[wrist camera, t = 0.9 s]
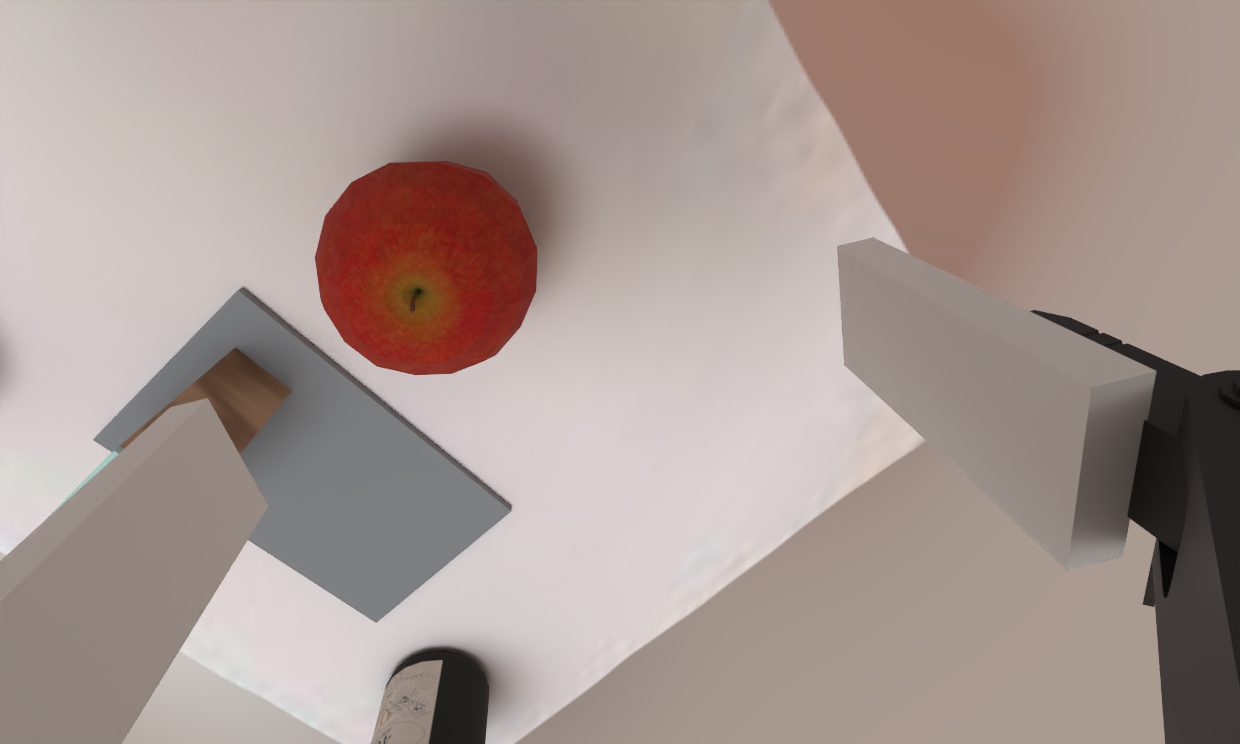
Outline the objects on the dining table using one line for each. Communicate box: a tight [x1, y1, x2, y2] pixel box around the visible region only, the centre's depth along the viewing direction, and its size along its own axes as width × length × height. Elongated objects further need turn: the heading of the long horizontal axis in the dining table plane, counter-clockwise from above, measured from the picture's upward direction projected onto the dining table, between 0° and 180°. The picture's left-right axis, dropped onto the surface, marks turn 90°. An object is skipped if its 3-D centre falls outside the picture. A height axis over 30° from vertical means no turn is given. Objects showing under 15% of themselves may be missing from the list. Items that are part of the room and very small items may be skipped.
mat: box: [93, 288, 511, 623], centre depth 43 cm, size 22×14×1 cm, turn 41°
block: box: [47, 347, 292, 519], centre depth 34 cm, size 4×8×12 cm, turn 131°
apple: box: [315, 161, 537, 375], centre depth 31 cm, size 10×10×14 cm
